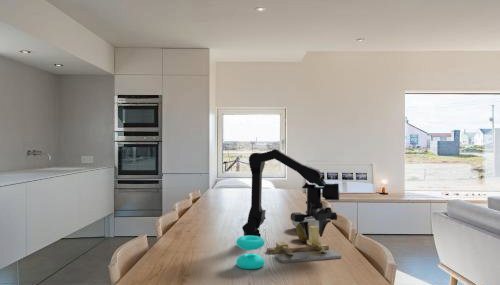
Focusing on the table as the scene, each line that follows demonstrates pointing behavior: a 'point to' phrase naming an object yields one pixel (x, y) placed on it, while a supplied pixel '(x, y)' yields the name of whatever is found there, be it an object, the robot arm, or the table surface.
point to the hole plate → (307, 256)
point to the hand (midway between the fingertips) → (313, 237)
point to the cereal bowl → (311, 221)
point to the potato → (302, 233)
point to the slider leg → (314, 238)
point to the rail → (292, 248)
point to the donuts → (250, 259)
